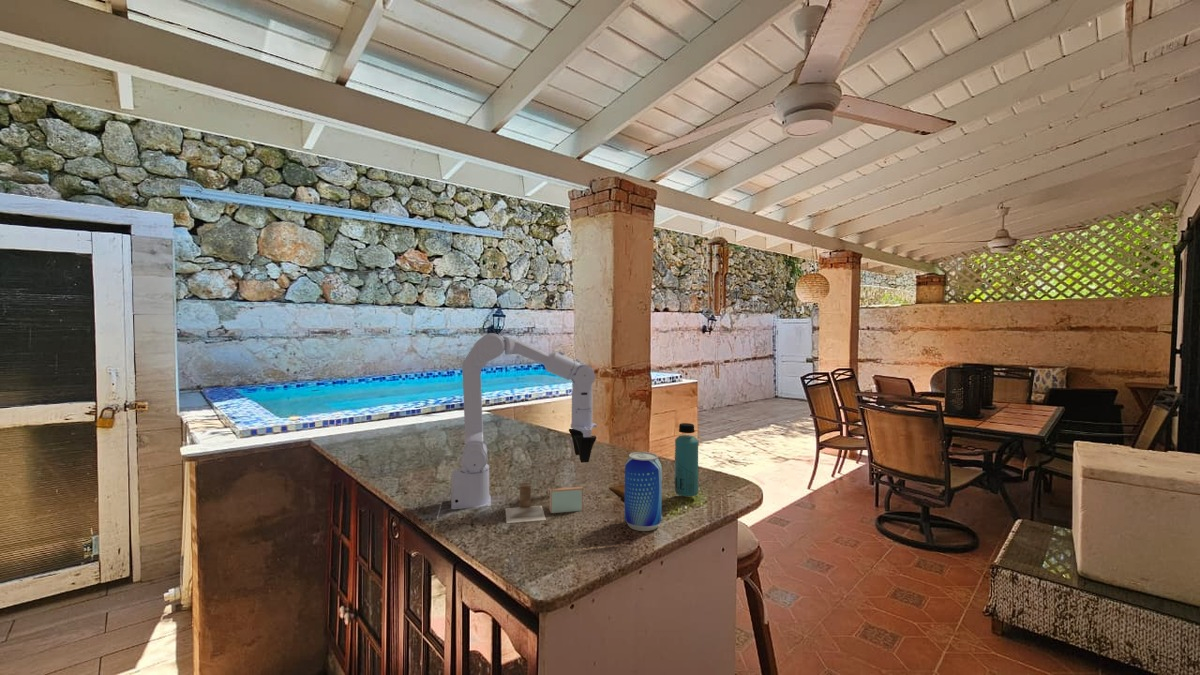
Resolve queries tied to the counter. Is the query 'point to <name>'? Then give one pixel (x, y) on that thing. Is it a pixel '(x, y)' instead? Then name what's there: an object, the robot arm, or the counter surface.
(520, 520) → the mat
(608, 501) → the counter surface
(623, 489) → the primitive tool
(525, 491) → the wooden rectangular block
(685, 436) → the beverage bottle
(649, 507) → the beer can
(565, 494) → the tile
